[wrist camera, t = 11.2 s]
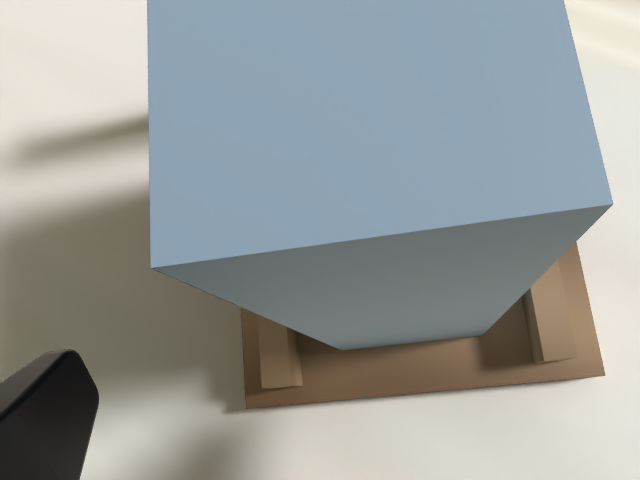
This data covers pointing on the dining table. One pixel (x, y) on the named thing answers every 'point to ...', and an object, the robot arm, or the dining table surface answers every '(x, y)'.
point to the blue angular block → (368, 159)
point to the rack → (432, 351)
